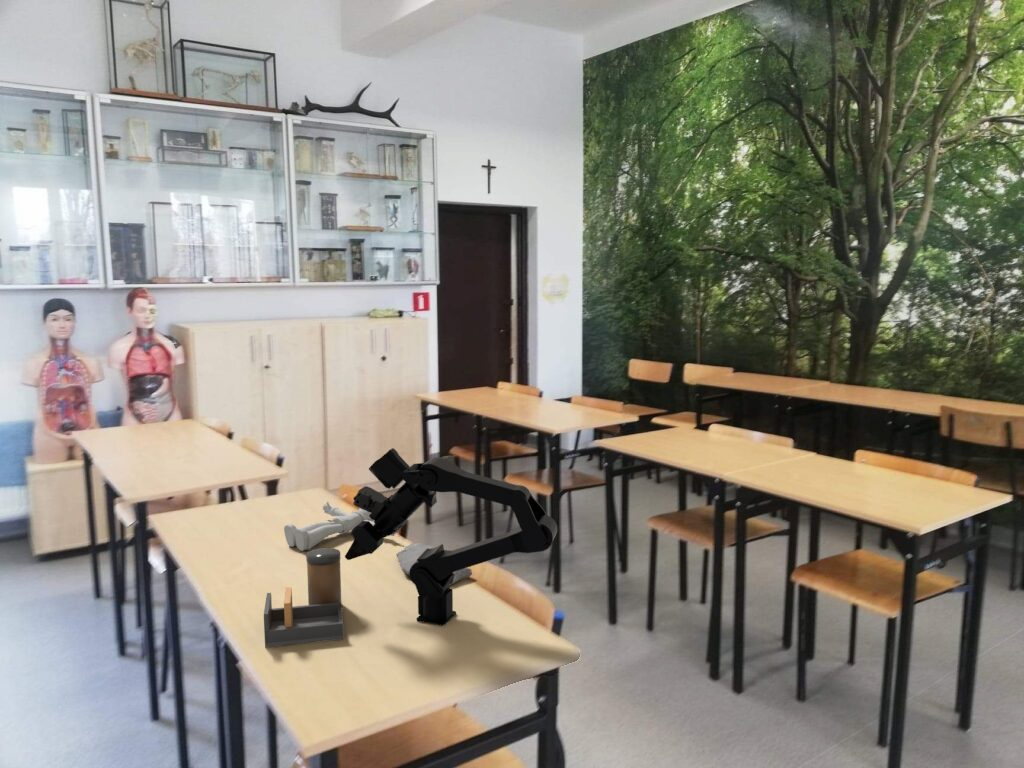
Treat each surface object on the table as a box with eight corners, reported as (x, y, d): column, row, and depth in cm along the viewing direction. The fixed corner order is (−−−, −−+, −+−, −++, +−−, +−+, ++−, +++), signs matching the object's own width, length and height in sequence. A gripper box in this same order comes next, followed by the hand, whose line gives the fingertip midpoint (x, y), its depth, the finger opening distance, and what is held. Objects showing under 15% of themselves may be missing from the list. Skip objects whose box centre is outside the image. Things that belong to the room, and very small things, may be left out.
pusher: (292, 619, 163) (291, 587, 162) (291, 636, 156) (290, 603, 155) (286, 619, 163) (285, 587, 162) (285, 637, 155) (283, 603, 154)
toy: (258, 513, 218) (346, 485, 240) (261, 541, 219) (348, 511, 241) (330, 540, 196) (420, 506, 218) (333, 571, 198) (422, 535, 219)
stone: (484, 580, 189) (430, 551, 209) (485, 558, 188) (431, 531, 208) (428, 594, 179) (377, 562, 199) (429, 571, 179) (377, 541, 199)
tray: (341, 616, 167) (341, 586, 166) (343, 639, 157) (342, 606, 156) (268, 624, 164) (267, 593, 163) (265, 647, 153) (263, 614, 152)
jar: (348, 603, 174) (346, 550, 172) (329, 616, 167) (327, 561, 166) (320, 598, 177) (319, 546, 175) (301, 611, 170) (299, 557, 168)
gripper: (392, 465, 174) (347, 510, 178) (358, 488, 156) (309, 537, 160) (427, 502, 174) (381, 546, 177) (397, 528, 155) (347, 577, 159)
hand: (355, 550), depth 169 cm, fingers open, 9 cm apart
